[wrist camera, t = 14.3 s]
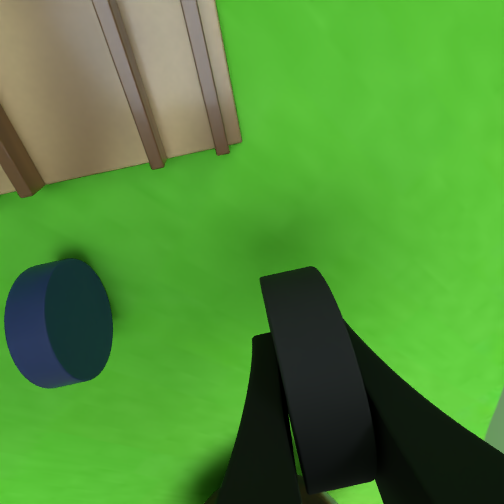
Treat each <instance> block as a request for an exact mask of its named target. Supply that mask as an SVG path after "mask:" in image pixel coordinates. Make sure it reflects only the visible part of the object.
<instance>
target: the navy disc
mask: <svg viewBox="0 0 504 504" xmlns="http://www.w3.org/2000/svg"><path fill="white" fill-rule="evenodd" d="M4 325H5V335H6V340H7V345H8V348H9V351H10V354H11V357H12V359H13V361H14V363H15V365H16V366H17V368H18V369H19V371H20V372H21V373H22V374H23V376H24V377H25V378H26V379H28V380H29V381H30V382H31V383H33V384H35V385H37V386H39V387H42V388H48V389H49V388H57V387H62V386H66V385H71V384H75V383H80V382H85V381H88V380H91V379H93V378H95V377H96V376H98V375H99V374H100V373H101V371H102V370H103V369H104V367H105V365H106V363H107V361H108V358H109V355H110V351H111V346H112V338H113V322H112V314H111V308H110V304H109V300H108V297H107V294H106V291H105V289H104V287H103V284H102V283H101V281H100V279H99V277H98V276H97V274H96V273H95V272H94V270H93V269H92V268H91V267H90V266H89V265H87V264H86V263H84V262H83V261H81V260H78V259H73V258H70V259H64V260H59V261H55V262H50V263H45V264H41V265H36V266H33V267H30V268H28V269H27V270H25V271H24V272H23V273H21V274H20V275H19V277H18V278H17V279H16V280H15V282H14V284H13V285H12V287H11V289H10V292H9V295H8V298H7V301H6V307H5V316H4Z"/></svg>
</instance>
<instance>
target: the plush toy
mask: <svg viewBox="0 0 504 504" xmlns="http://www.w3.org/2000/svg"><path fill="white" fill-rule="evenodd" d="M297 478H298V484H299V489H300V494H301V498H302V503H303V504H338V503H337V502H336V501H335V500H334V499H333V498H332V497H331V496H330V495H329V494H328V493H327V492H321V493H317V494H312V495H308V494H307V492H306V488H305V484H304V480H303V477H302V476H300V475H298V474H297ZM219 490H220V488H219V489H217V490H216V491H215V492H214V493H213V494H212V495H211V496H210V497H209V498H208V499H207V501H206V502H205V503H204V504H214V503H215V501H216V498H217V495H218V493H219Z"/></svg>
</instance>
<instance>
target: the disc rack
mask: <svg viewBox="0 0 504 504" xmlns="http://www.w3.org/2000/svg"><path fill="white" fill-rule="evenodd" d="M241 142H242V138H241V133H240V128H239V122H238V117H237V112H236V107H235V102H234V96H233V91H232V86H231V81H230V75H229V70H228V65H227V60H226V55H225V49H224V44H223V39H222V34H221V29H220V23H219V18H218V13H217V8H216V2H215V0H0V195H1V194H5V193H10V192H15V191H17V193H18V195H19V196H20V197H21V198H25V197H29V196H33V195H34V194H35V193H37V192H38V191H39V190H40V189H41V188H43V187H44V186H45V185H47V184H52V183H56V182H61V181H66V180H70V179H75V178H80V177H84V176H89V175H93V174H98V173H103V172H107V171H112V170H117V169H121V168H126V167H131V166H135V165H140V164H144V163H149V164H150V166H151V169H152V170H154V169H159V168H163V167H164V166H165V163H166V161H167V159H168V158H172V157H177V156H181V155H186V154H191V153H195V152H200V151H205V150H209V149H214V148H215V150H216V154H217V156H219V155H224V154H229V153H230V151H229V146H228V145H232V144H237V143H241Z"/></svg>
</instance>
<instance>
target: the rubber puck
mask: <svg viewBox="0 0 504 504" xmlns="http://www.w3.org/2000/svg"><path fill="white" fill-rule="evenodd" d="M260 284H261V289H262V294H263V299H264V304H265V308H266V313H267V318H268V322H269V327H270V332H271V334H272V338H273V342H274V347H275V351H276V355H277V360H278V365H279V369H280V374H281V379H282V384H283V389H284V393H285V398H286V403H287V408H288V414H289V418H290V423H291V427H292V431H293V436H294V440H295V445H296V449H297V454H298V458H299V462H300V467H301V471H302V475H303V480H304V484H305V488H306V492H307V494H308V495H312V494H317V493H321V492H326V491H330V490H335V489H339V488H344V487H348V486H353V485H358V484H362V483H367V482H371V481H373V480H374V479H375V477H376V474H377V450H376V441H375V434H374V428H373V422H372V417H371V412H370V408H369V403H368V399H367V395H366V391H365V387H364V383H363V379H362V375H361V372H360V368H359V365H358V362H357V358H356V355H355V352H354V349H353V346H352V343H351V340H350V337H349V334H348V331H347V328H346V325H345V323H344V320H343V318H342V315H341V312H340V310H339V308H338V305H337V303H336V301H335V298H334V296H333V294H332V292H331V290H330V288H329V286H328V284H327V283H326V281H325V279H324V278H323V276H322V275H321V273H320V272H319V271H318V270H317V269H316V268H315V267H312V266H309V267H304V268H300V269H295V270H291V271H286V272H282V273H277V274H272V275H268V276H263V277H260Z"/></svg>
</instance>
